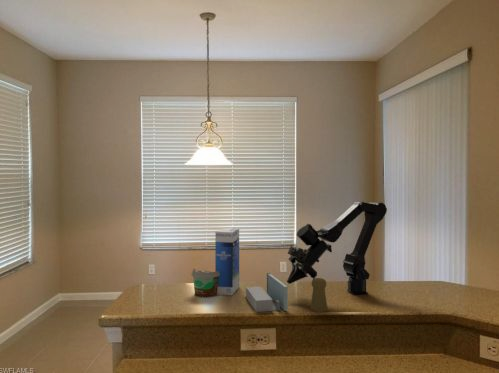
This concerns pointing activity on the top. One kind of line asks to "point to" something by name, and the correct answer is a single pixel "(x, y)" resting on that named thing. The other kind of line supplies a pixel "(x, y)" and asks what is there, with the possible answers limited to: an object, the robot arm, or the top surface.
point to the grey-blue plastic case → (261, 299)
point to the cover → (277, 291)
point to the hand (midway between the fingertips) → (287, 282)
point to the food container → (205, 283)
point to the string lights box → (227, 260)
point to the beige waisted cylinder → (318, 295)
